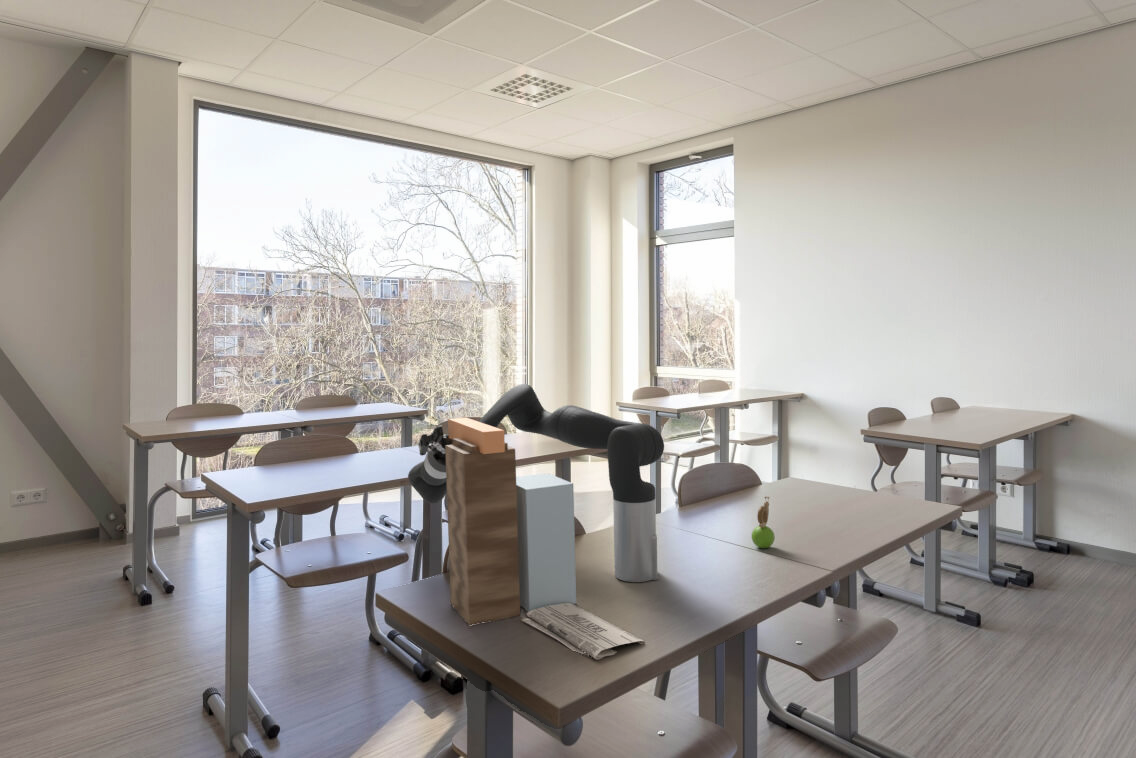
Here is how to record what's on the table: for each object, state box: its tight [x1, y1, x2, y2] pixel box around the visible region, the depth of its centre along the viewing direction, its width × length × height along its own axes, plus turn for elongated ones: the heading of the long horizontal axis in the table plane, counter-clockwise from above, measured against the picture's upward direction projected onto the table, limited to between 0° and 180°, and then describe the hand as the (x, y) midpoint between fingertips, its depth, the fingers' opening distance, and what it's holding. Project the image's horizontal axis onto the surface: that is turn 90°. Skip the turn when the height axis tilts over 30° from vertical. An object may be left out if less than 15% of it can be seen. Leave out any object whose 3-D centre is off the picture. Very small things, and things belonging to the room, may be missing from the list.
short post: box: [516, 473, 577, 613], centre depth 139 cm, size 12×10×24 cm
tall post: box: [445, 438, 521, 626], centre depth 133 cm, size 12×10×33 cm
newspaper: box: [521, 603, 646, 660], centre depth 123 cm, size 23×12×2 cm, turn 34°
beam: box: [447, 417, 506, 454], centre depth 136 cm, size 24×4×4 cm, turn 25°
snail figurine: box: [751, 496, 776, 549], centre depth 169 cm, size 5×6×12 cm
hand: (461, 428), depth 142 cm, fingers open, 8 cm apart
